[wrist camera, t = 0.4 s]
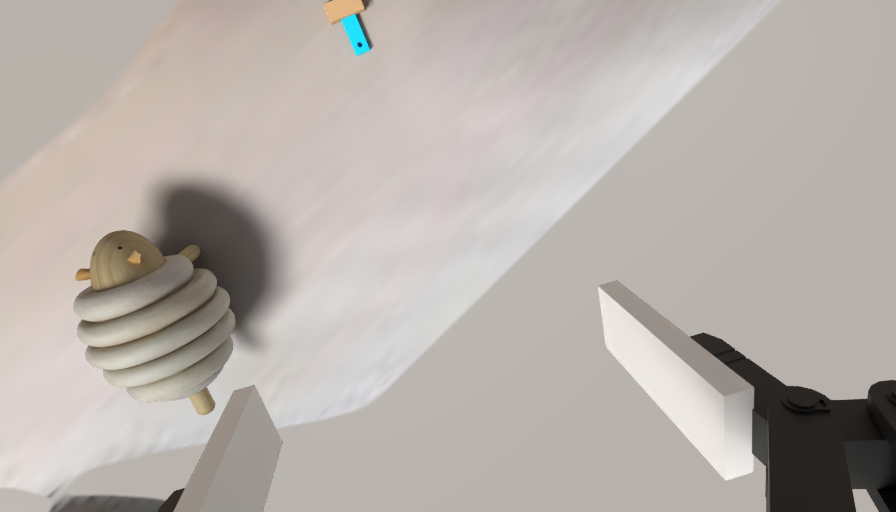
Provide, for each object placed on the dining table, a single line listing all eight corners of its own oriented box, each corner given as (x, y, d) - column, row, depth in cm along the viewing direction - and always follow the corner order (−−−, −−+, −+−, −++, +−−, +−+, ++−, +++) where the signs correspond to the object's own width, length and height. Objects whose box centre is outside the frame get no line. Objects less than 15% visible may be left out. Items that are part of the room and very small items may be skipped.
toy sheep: (199, 195, 39) (133, 230, 29) (287, 350, 45) (259, 426, 35) (84, 238, 39) (-24, 289, 28) (188, 388, 45) (130, 475, 34)
